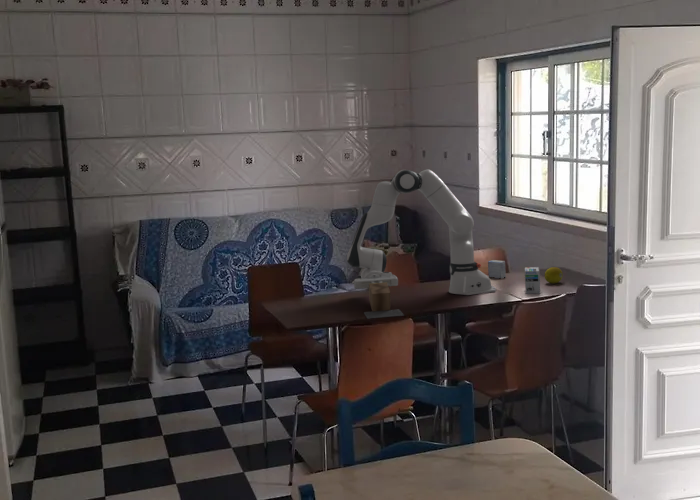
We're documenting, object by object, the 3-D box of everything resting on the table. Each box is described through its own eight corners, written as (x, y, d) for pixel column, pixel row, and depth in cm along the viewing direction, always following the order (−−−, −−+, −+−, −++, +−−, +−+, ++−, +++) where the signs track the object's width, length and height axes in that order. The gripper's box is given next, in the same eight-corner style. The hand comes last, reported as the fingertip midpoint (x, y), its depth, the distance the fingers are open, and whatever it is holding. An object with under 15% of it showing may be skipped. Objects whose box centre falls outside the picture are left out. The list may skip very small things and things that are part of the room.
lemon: (551, 286, 375) (551, 269, 374) (540, 283, 382) (539, 267, 381) (568, 282, 380) (568, 266, 379) (556, 280, 387) (556, 264, 386)
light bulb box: (540, 293, 360) (539, 270, 358) (525, 294, 361) (524, 271, 360) (539, 289, 370) (539, 266, 369) (525, 289, 372) (524, 267, 370)
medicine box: (506, 277, 402) (505, 261, 401) (501, 279, 399) (500, 262, 398) (492, 276, 408) (492, 259, 406) (488, 277, 405) (487, 261, 403)
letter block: (386, 282, 349) (390, 292, 341) (386, 299, 353) (390, 310, 345) (369, 283, 348) (372, 294, 340) (369, 301, 352) (372, 311, 344)
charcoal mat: (399, 309, 345) (399, 309, 345) (404, 315, 333) (404, 315, 333) (363, 312, 343) (363, 312, 343) (367, 318, 331) (367, 318, 331)
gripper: (351, 275, 361) (354, 280, 347) (394, 271, 363) (399, 276, 350) (351, 288, 362) (355, 294, 348) (395, 285, 364) (400, 290, 351)
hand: (378, 285), depth 349 cm, fingers closed, pressing on letter block
